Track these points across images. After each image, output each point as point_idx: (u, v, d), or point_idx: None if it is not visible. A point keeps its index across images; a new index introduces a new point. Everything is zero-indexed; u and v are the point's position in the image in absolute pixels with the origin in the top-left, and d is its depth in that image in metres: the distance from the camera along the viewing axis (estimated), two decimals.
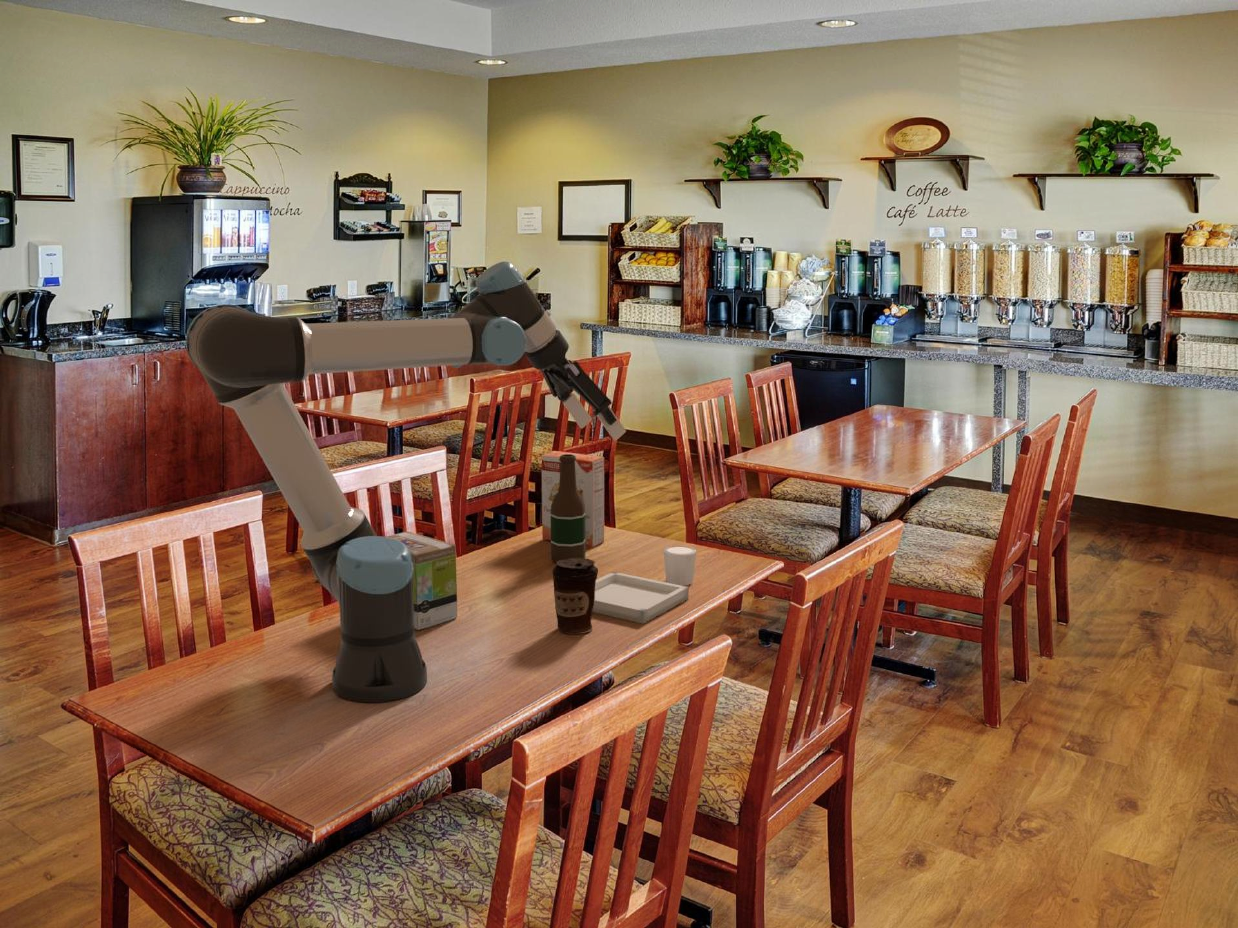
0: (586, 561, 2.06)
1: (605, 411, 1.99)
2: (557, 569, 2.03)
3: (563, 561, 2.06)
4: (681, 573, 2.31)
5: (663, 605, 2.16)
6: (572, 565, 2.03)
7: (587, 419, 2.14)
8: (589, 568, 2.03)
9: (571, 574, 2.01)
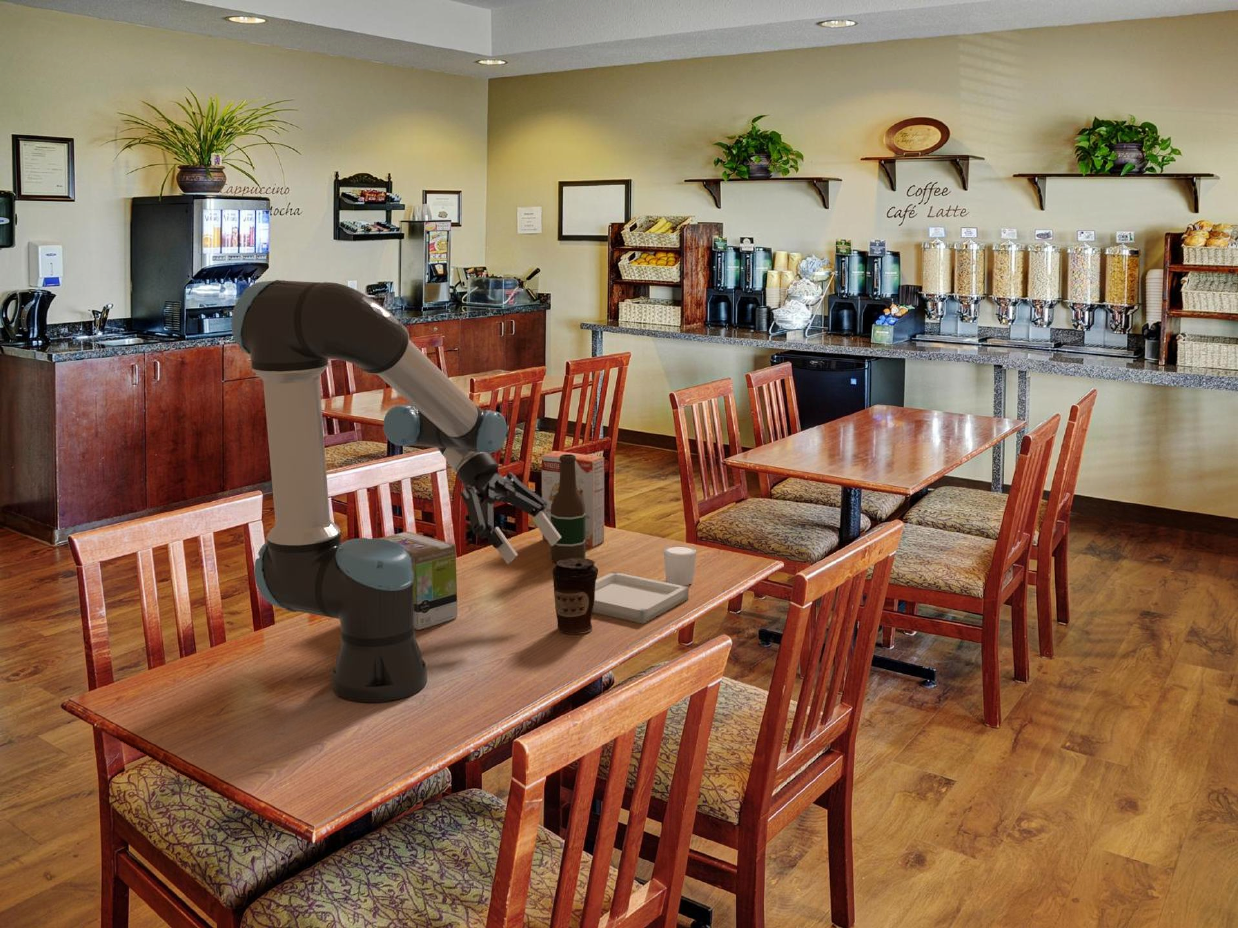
0: (586, 561, 2.06)
1: None
2: (557, 569, 2.03)
3: (563, 561, 2.06)
4: (681, 573, 2.31)
5: (663, 605, 2.16)
6: (572, 565, 2.03)
7: None
8: (589, 568, 2.03)
9: (571, 574, 2.01)
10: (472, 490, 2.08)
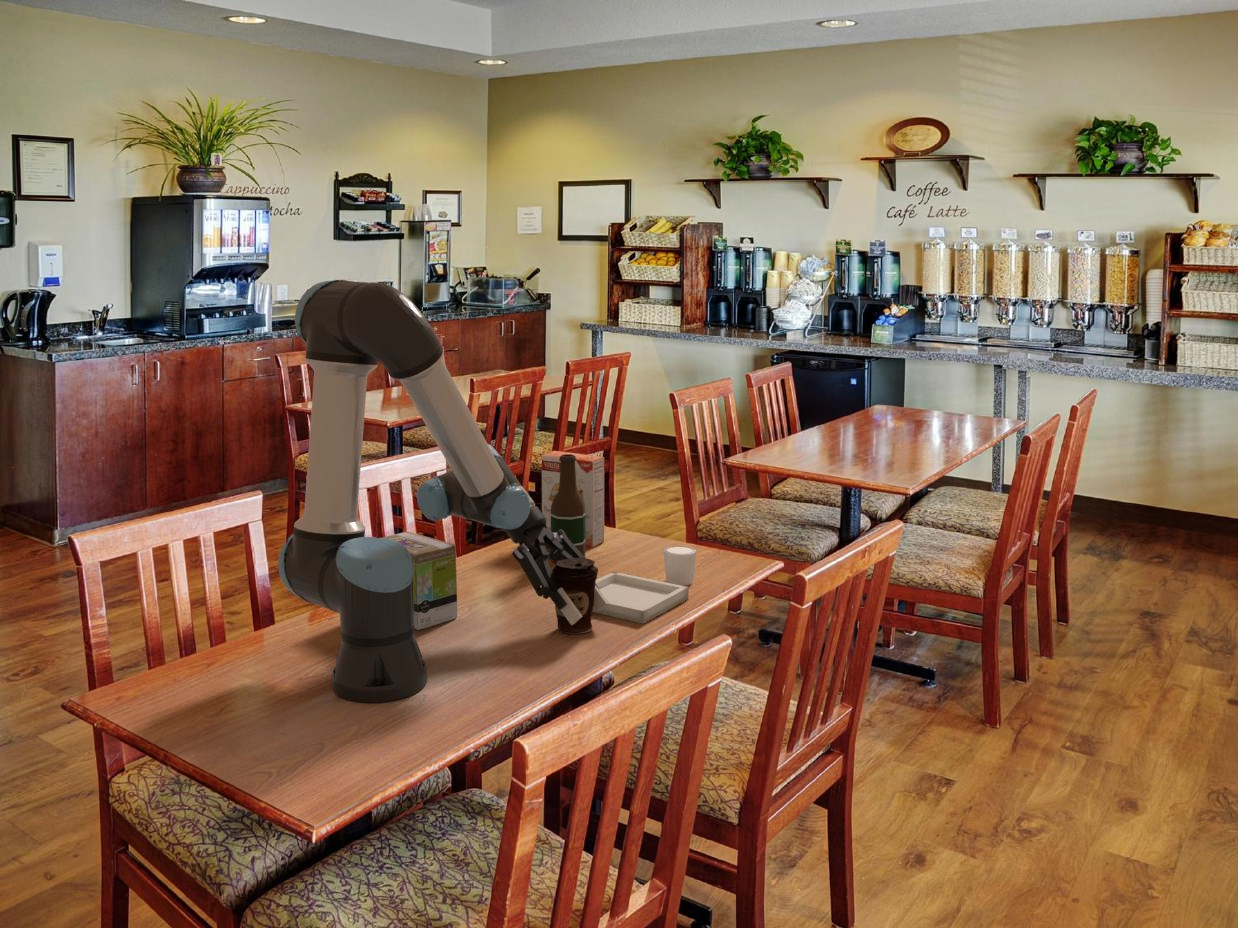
0: (586, 561, 2.06)
1: None
2: (557, 569, 2.03)
3: (563, 561, 2.06)
4: (681, 573, 2.31)
5: (663, 605, 2.16)
6: (572, 565, 2.03)
7: None
8: (589, 568, 2.03)
9: (570, 575, 2.01)
10: (525, 550, 2.03)
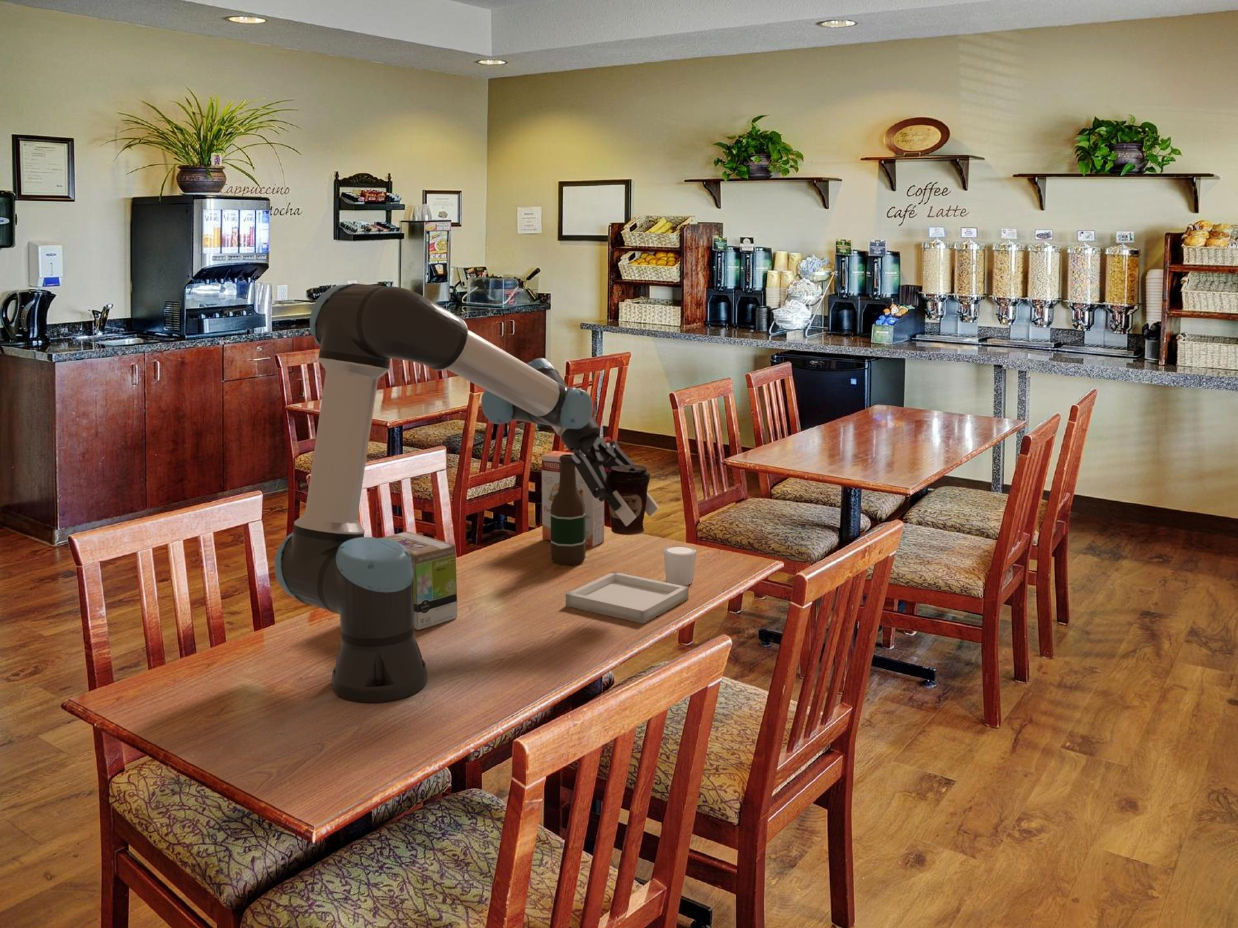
0: (639, 467, 2.17)
1: None
2: (612, 473, 2.14)
3: (617, 467, 2.17)
4: (681, 573, 2.31)
5: (663, 605, 2.16)
6: (626, 470, 2.15)
7: None
8: (642, 472, 2.14)
9: (625, 478, 2.13)
10: (582, 455, 2.15)
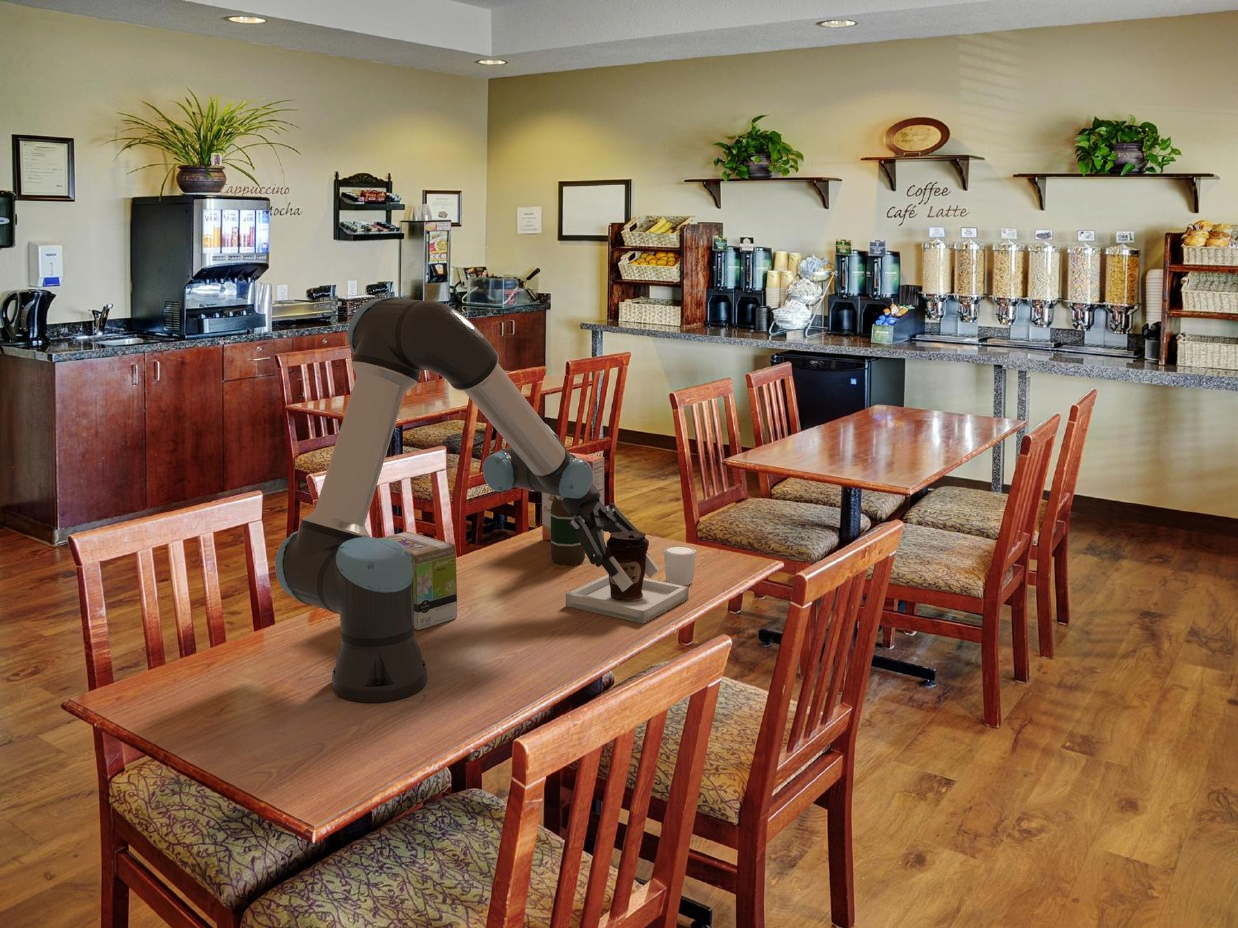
0: (638, 533, 2.20)
1: None
2: (611, 540, 2.17)
3: (616, 533, 2.20)
4: (681, 573, 2.31)
5: (663, 605, 2.16)
6: (625, 537, 2.18)
7: None
8: (641, 540, 2.17)
9: (624, 545, 2.15)
10: (581, 521, 2.17)
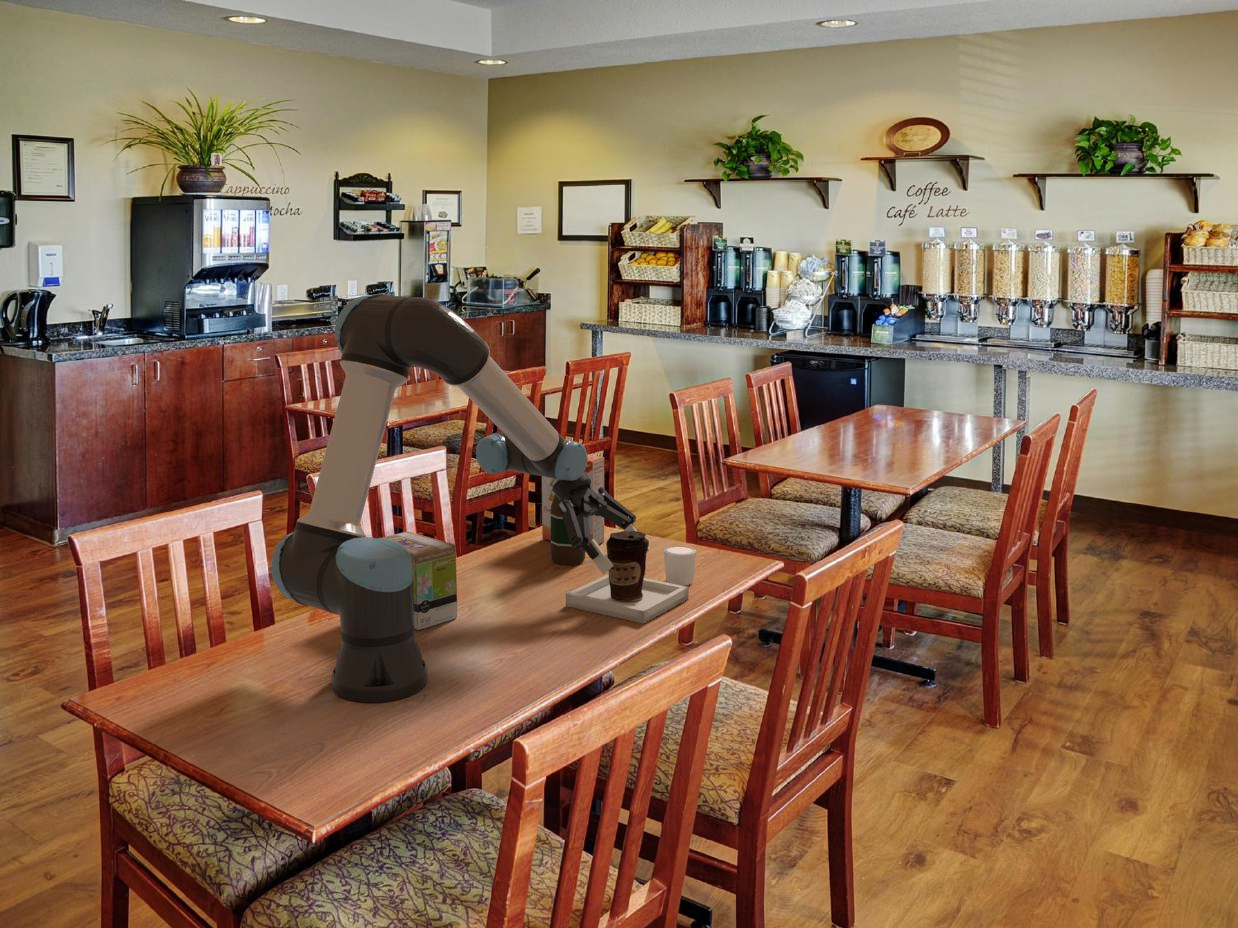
0: (638, 534, 2.20)
1: None
2: (611, 541, 2.17)
3: (616, 534, 2.20)
4: (681, 573, 2.31)
5: (663, 605, 2.16)
6: (625, 537, 2.18)
7: None
8: (641, 540, 2.17)
9: (624, 545, 2.15)
10: (569, 504, 2.18)
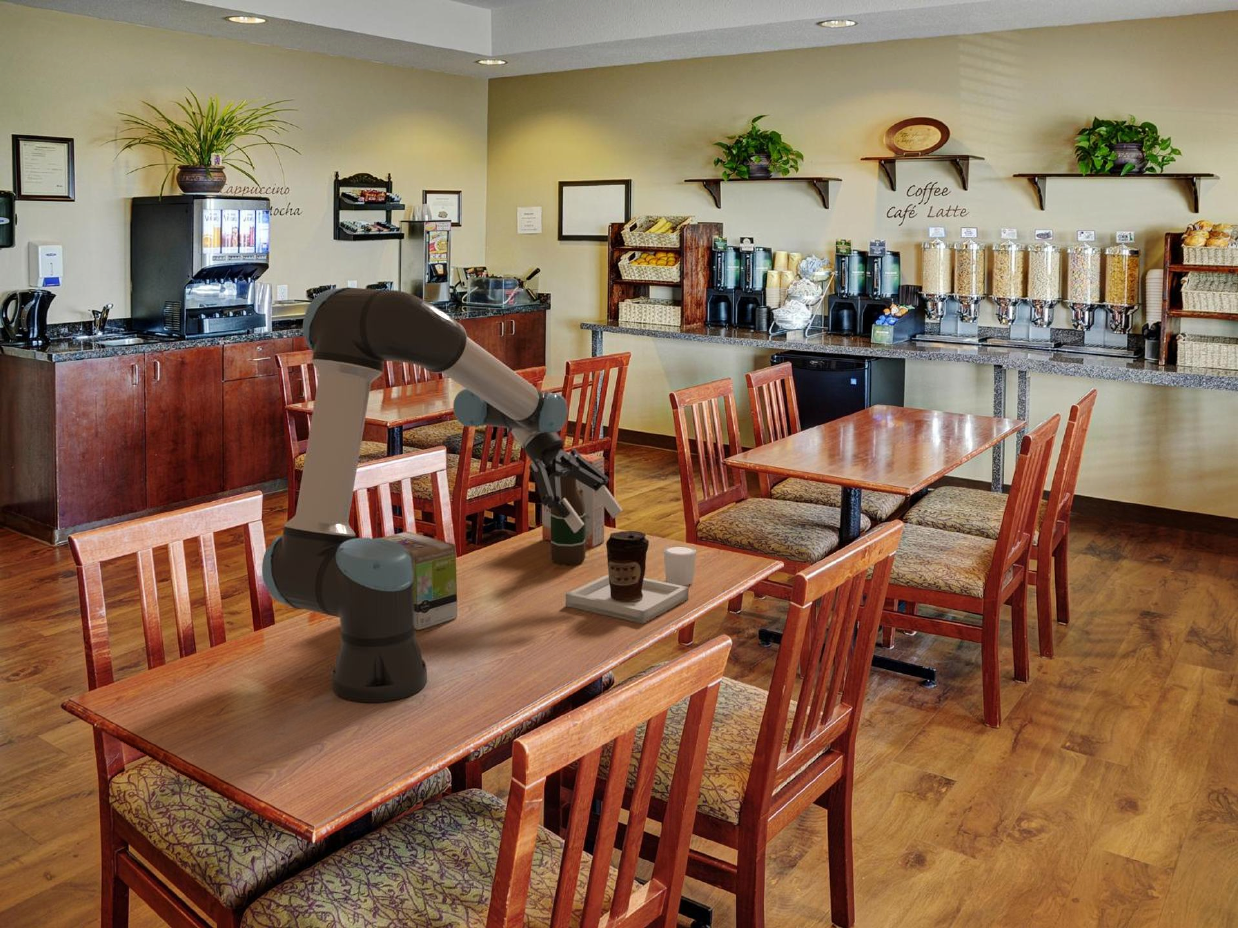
0: (637, 534, 2.20)
1: None
2: (611, 541, 2.17)
3: (616, 534, 2.20)
4: (681, 573, 2.31)
5: (663, 605, 2.16)
6: (625, 537, 2.18)
7: None
8: (641, 540, 2.17)
9: (624, 545, 2.15)
10: (540, 464, 2.20)
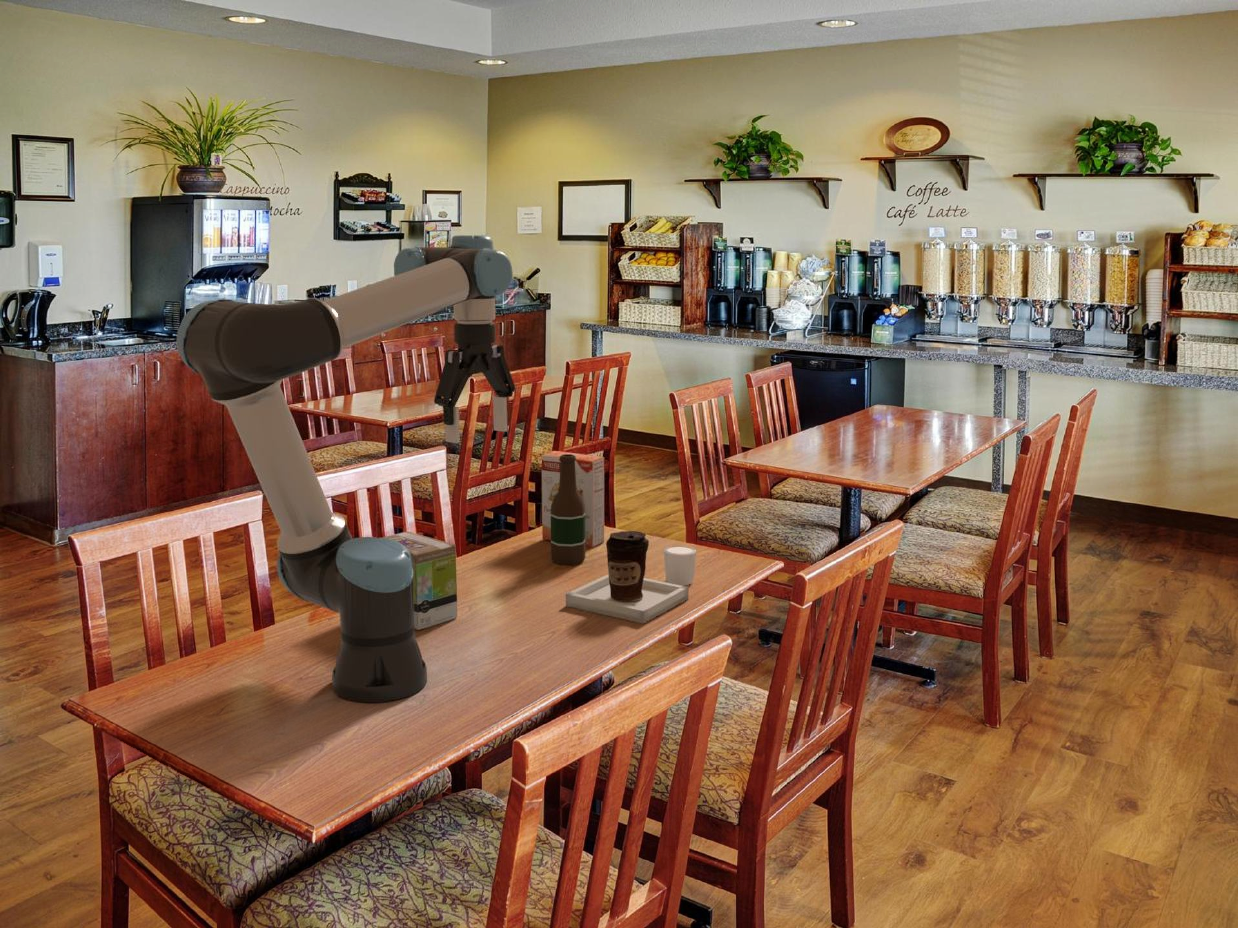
0: (637, 534, 2.20)
1: None
2: (611, 541, 2.17)
3: (616, 534, 2.20)
4: (681, 573, 2.31)
5: (663, 605, 2.16)
6: (625, 537, 2.18)
7: None
8: (641, 540, 2.17)
9: (624, 545, 2.15)
10: (457, 359, 1.99)
